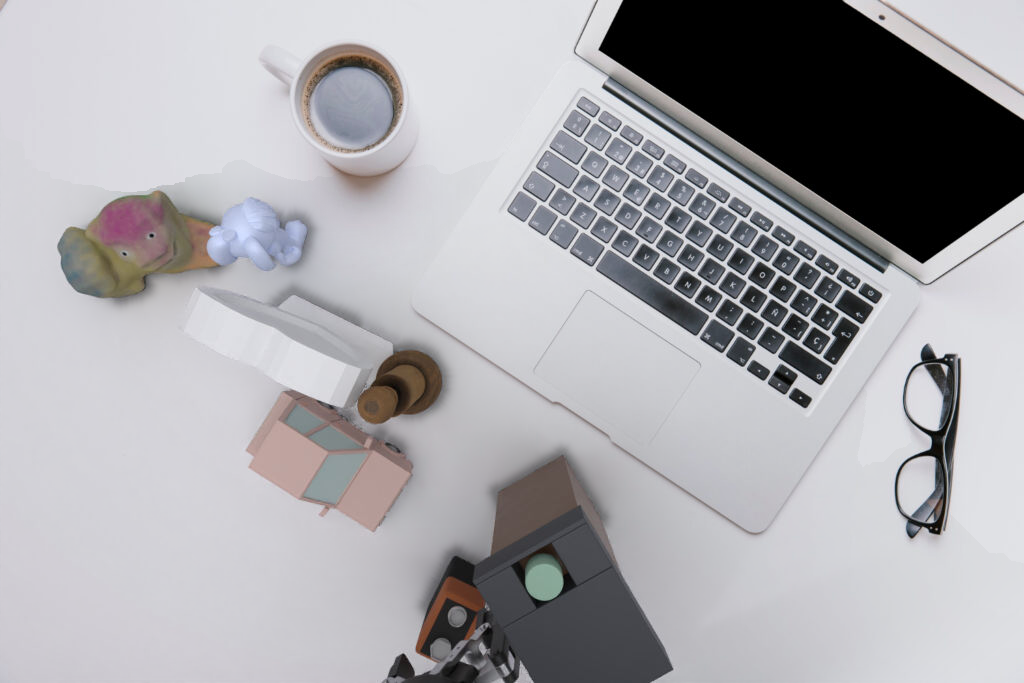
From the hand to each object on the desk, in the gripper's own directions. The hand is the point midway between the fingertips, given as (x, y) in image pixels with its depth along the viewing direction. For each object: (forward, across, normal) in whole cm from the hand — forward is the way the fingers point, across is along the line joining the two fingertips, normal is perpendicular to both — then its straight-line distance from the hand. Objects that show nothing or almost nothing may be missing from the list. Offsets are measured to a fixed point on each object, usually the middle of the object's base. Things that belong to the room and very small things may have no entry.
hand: (446, 640), depth 61 cm
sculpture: (+11, -9, +47) cm, 49 cm away
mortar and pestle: (+11, +7, +22) cm, 25 cm away
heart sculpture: (+11, +2, +29) cm, 31 cm away
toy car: (+11, -3, +19) cm, 22 cm away
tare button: (-12, +13, +6) cm, 19 cm away
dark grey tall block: (+11, +13, +2) cm, 17 cm away
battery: (+11, 0, 0) cm, 11 cm away
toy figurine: (+11, +3, +41) cm, 42 cm away
